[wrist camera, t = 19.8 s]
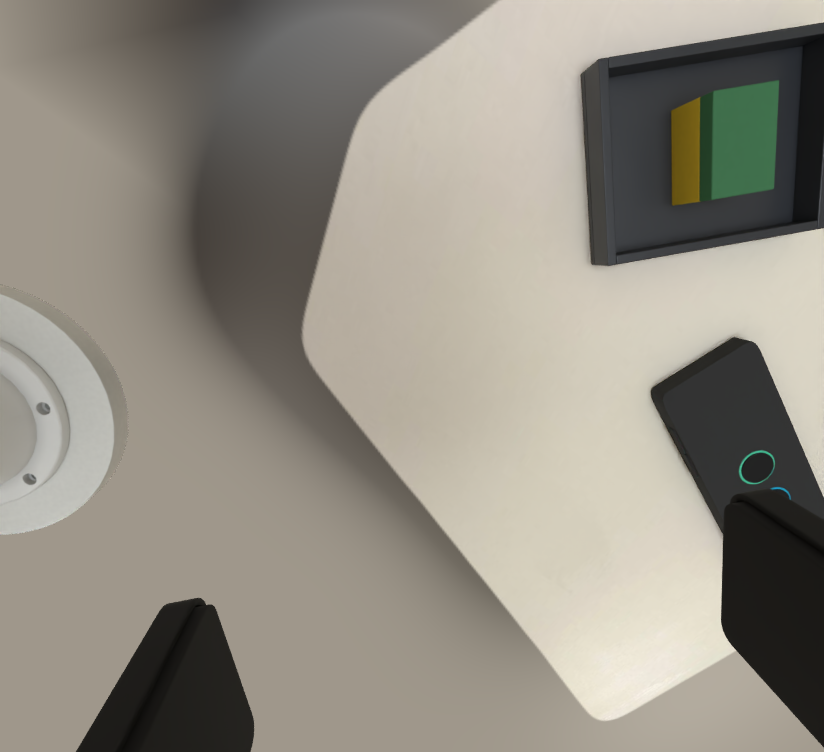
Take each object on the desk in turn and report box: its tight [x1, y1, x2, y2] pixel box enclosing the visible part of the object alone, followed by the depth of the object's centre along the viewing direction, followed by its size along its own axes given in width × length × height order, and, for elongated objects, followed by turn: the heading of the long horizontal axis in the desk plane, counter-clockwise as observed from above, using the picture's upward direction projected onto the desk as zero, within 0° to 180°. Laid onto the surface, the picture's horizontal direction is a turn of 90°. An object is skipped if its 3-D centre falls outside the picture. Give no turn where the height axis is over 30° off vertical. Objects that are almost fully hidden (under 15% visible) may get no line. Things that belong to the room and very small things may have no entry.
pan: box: [581, 23, 824, 266], centre depth 31 cm, size 15×12×2 cm
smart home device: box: [651, 338, 824, 533], centre depth 38 cm, size 8×2×20 cm
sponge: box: [671, 80, 779, 206], centre depth 29 cm, size 6×4×4 cm, turn 9°
